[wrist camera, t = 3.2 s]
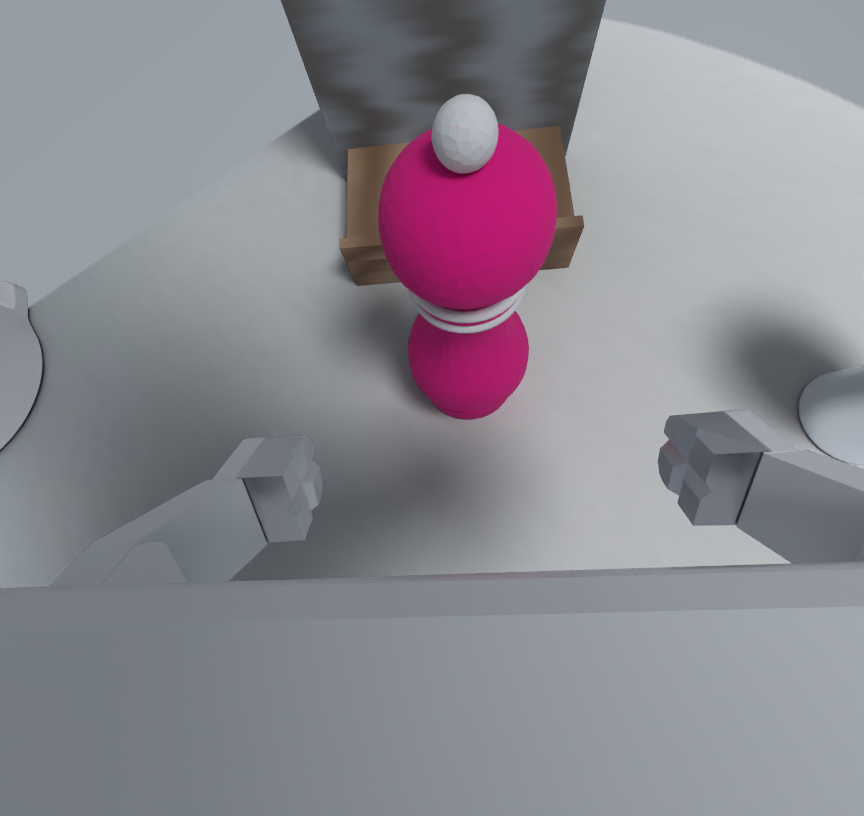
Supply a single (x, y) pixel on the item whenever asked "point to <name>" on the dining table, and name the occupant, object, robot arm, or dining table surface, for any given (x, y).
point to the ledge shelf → (441, 90)
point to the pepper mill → (467, 252)
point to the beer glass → (836, 413)
